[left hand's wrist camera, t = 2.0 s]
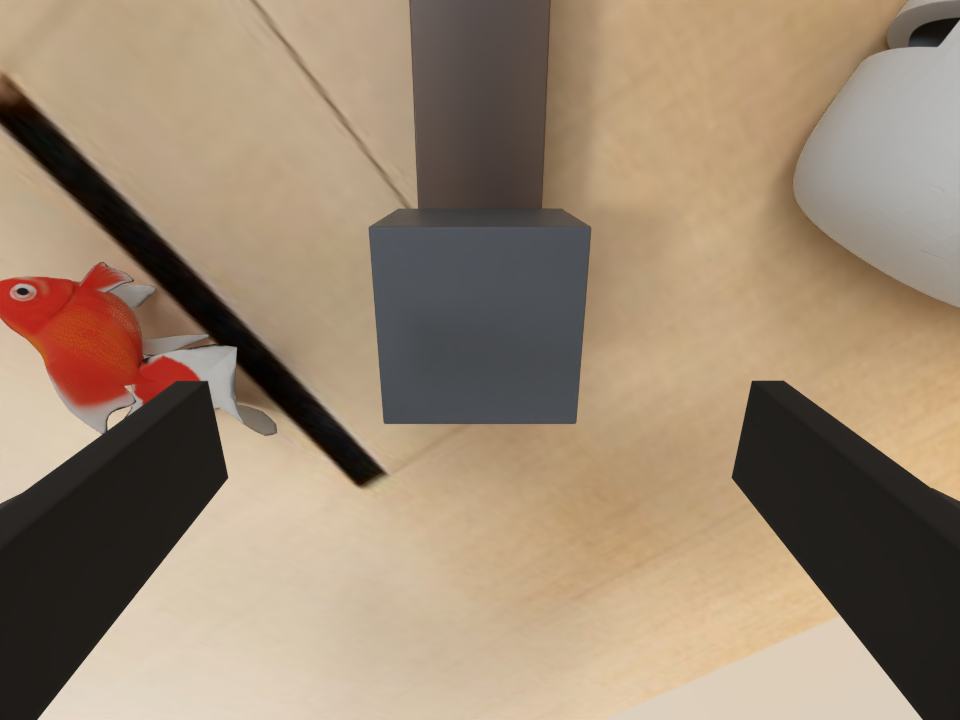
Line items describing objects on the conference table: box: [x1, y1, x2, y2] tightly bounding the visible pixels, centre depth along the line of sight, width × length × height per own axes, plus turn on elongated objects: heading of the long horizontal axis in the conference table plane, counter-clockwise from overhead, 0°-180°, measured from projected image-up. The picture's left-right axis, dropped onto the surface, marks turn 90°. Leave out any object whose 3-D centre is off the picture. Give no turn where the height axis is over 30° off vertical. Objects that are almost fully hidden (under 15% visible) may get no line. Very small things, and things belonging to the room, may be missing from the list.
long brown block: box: [409, 0, 551, 209], centre depth 26 cm, size 6×28×6 cm, turn 0°
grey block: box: [369, 209, 591, 424], centre depth 23 cm, size 8×8×7 cm
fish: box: [0, 262, 277, 436], centre depth 30 cm, size 11×16×10 cm
